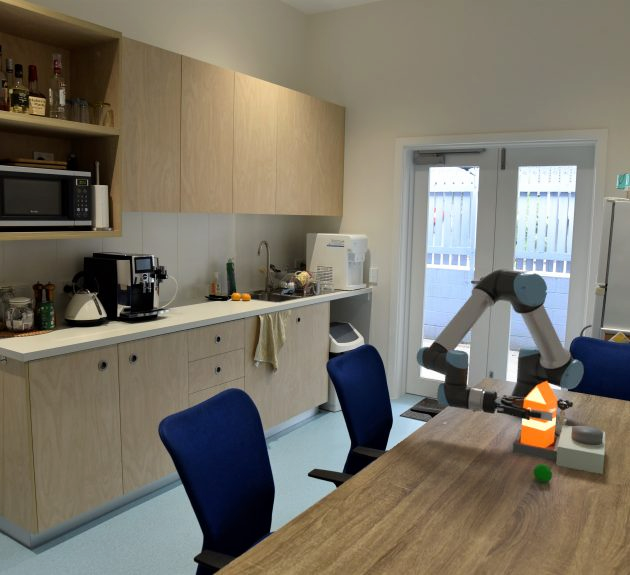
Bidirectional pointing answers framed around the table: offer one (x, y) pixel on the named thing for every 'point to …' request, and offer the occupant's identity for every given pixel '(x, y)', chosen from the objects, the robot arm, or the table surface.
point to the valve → (561, 414)
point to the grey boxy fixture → (571, 448)
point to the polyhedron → (542, 473)
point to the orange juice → (538, 429)
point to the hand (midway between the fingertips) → (553, 412)
